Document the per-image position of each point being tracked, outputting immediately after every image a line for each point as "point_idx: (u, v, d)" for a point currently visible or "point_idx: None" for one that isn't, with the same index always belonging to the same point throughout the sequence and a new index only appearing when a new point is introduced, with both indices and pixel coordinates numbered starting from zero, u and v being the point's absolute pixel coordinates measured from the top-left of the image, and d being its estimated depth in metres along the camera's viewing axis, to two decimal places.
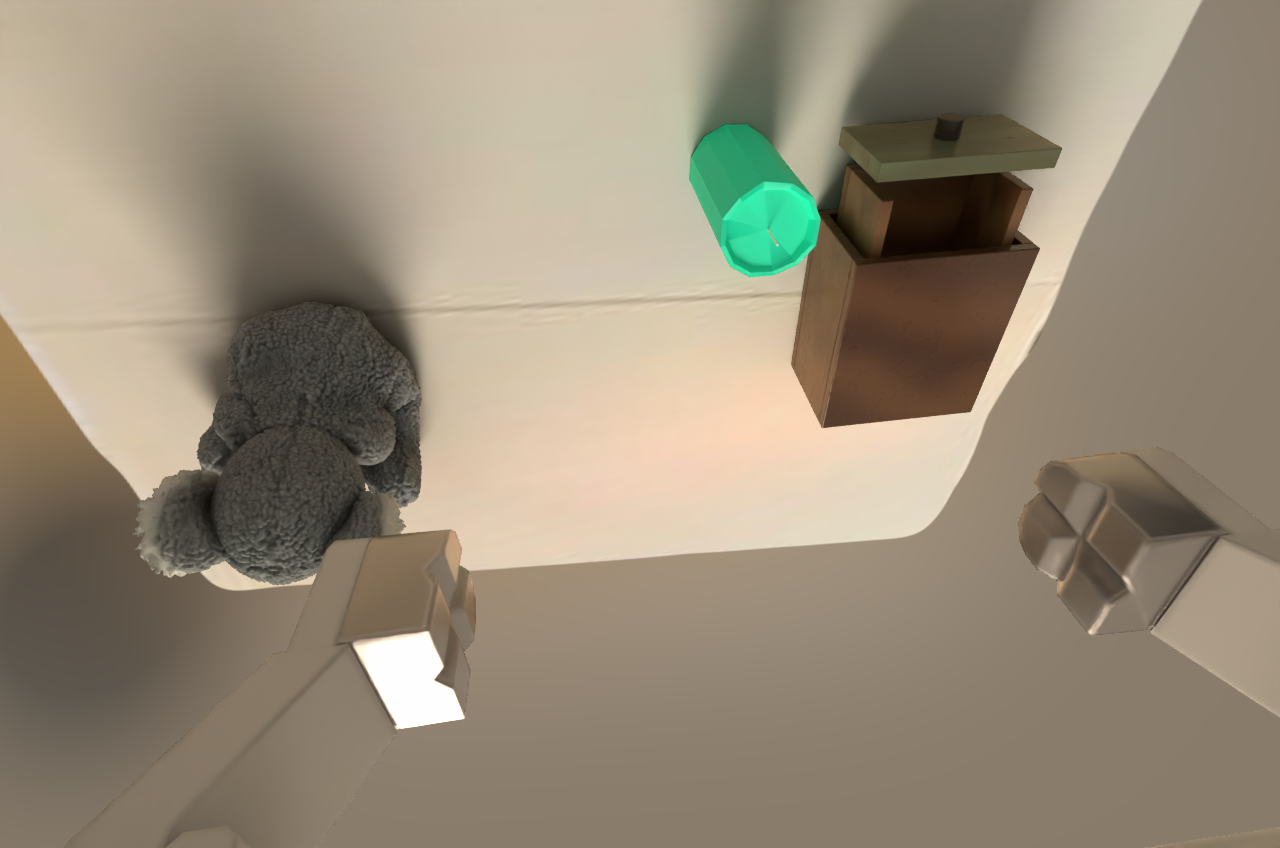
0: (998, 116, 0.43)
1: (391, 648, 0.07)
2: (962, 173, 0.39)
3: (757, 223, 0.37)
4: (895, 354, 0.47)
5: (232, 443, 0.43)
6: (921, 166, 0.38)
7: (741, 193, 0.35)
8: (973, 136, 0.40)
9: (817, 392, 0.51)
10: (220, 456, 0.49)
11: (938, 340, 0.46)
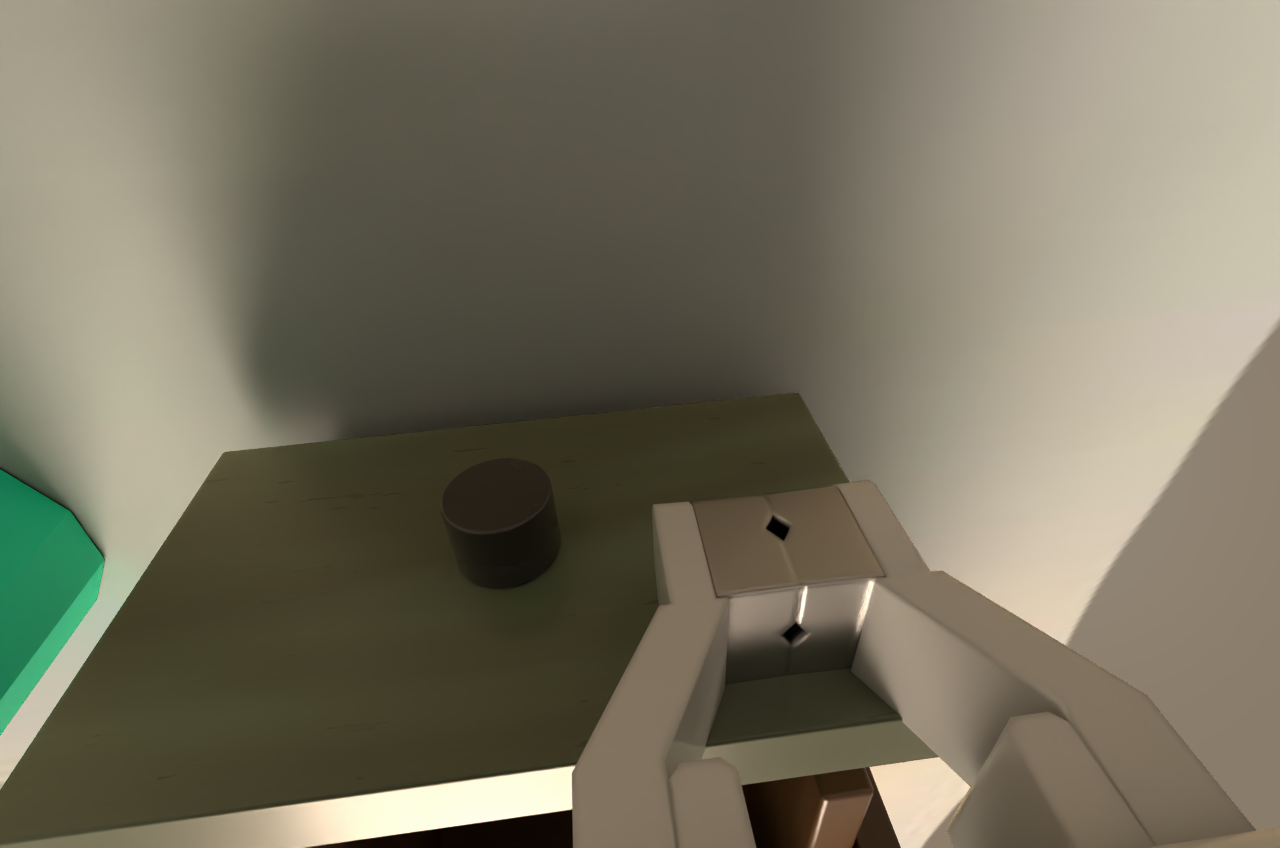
0: (779, 405, 0.12)
1: (760, 602, 0.07)
2: (484, 818, 0.08)
3: None
4: None
5: None
6: (225, 830, 0.07)
7: None
8: (616, 552, 0.10)
9: None
10: None
11: None
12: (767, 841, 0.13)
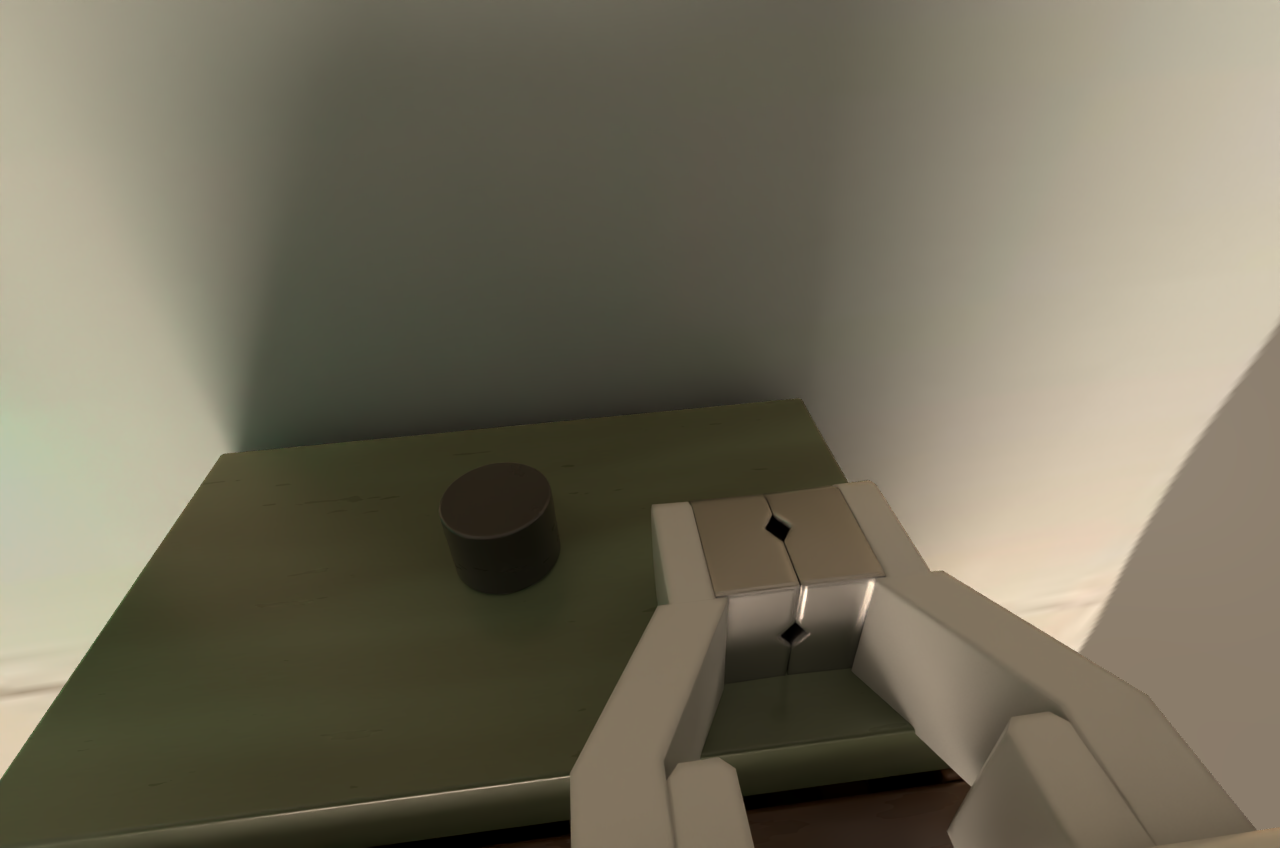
0: (781, 411, 0.12)
1: (758, 602, 0.07)
2: (479, 829, 0.08)
3: None
4: None
5: None
6: (217, 838, 0.07)
7: None
8: (616, 558, 0.10)
9: None
10: None
11: None
12: None
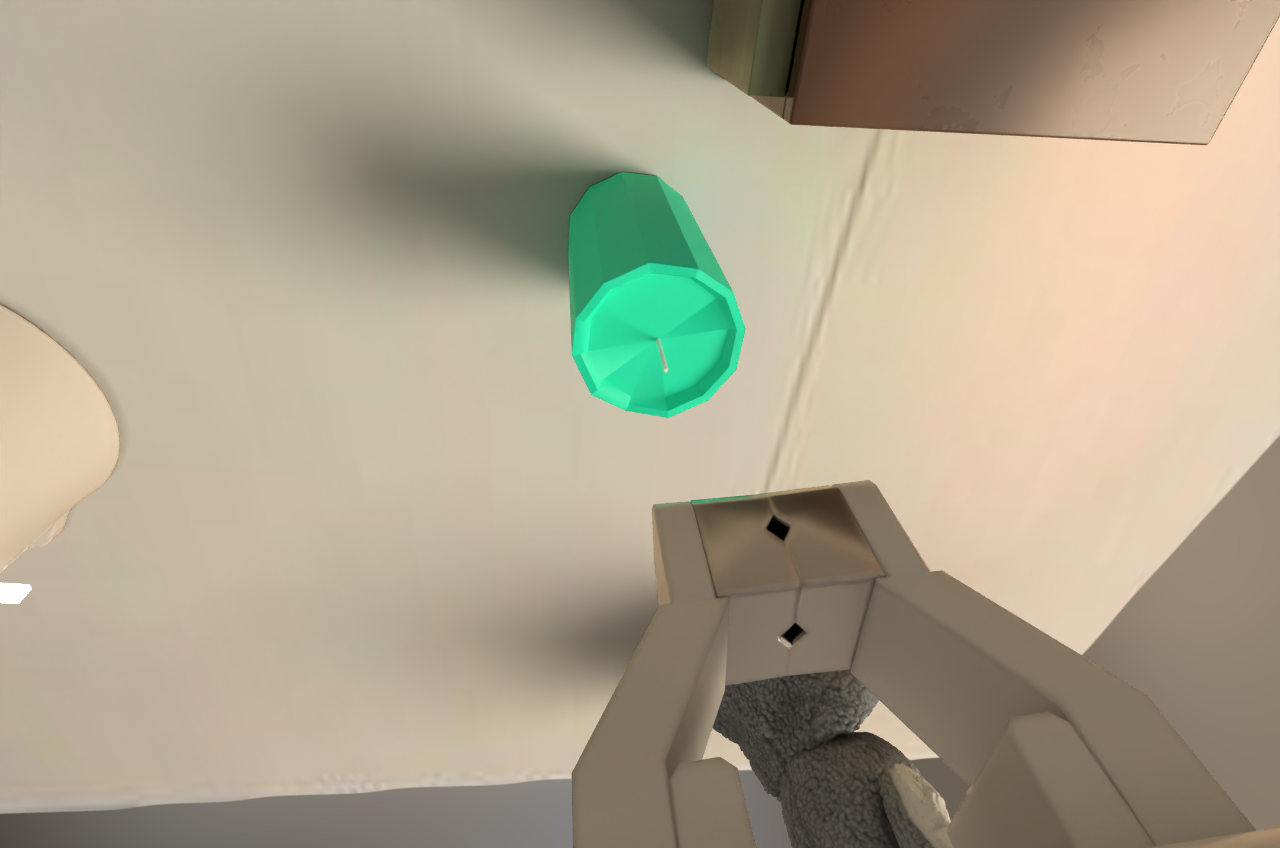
0: None
1: (760, 602, 0.07)
2: None
3: (644, 357, 0.22)
4: None
5: None
6: None
7: (588, 384, 0.22)
8: None
9: None
10: None
11: None
12: None
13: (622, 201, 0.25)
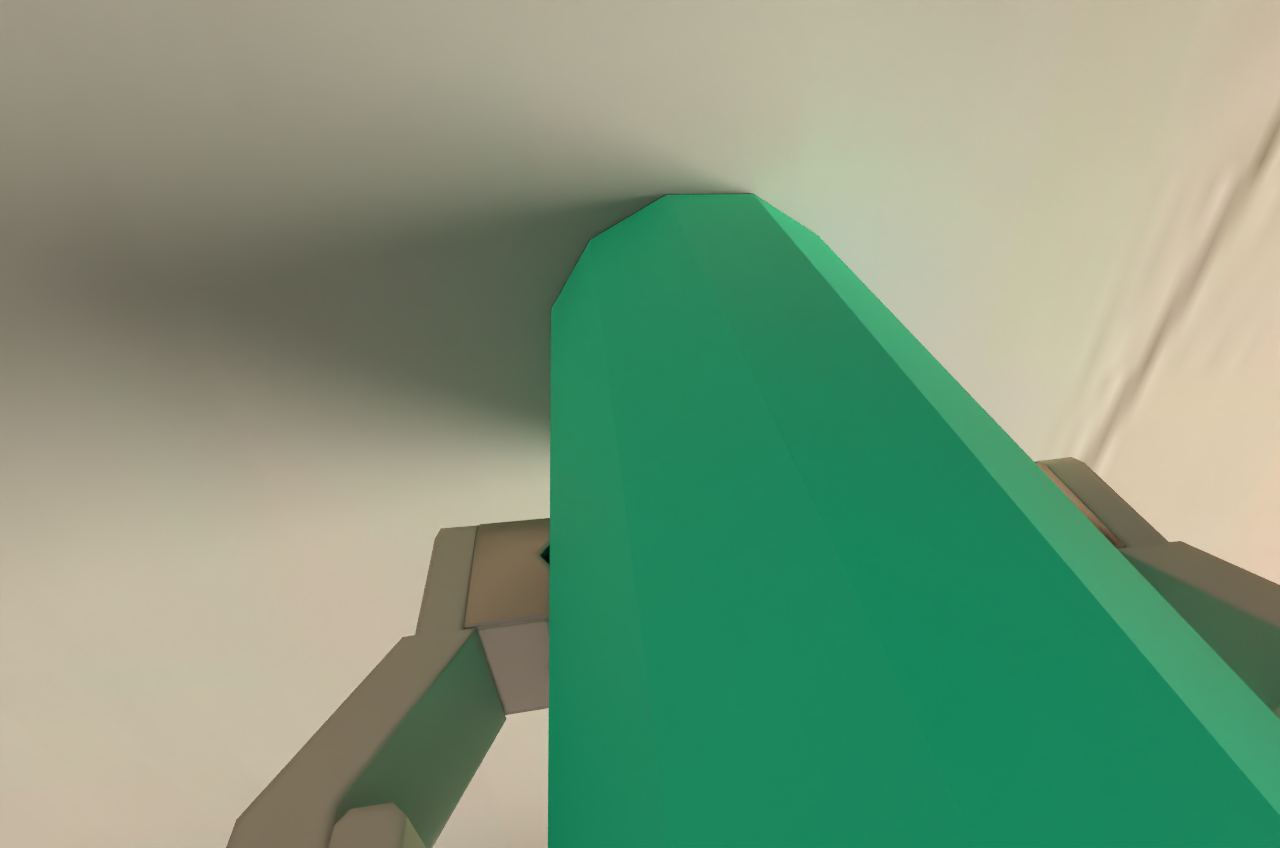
0: None
1: (514, 633, 0.07)
2: None
3: None
4: None
5: None
6: None
7: None
8: None
9: None
10: None
11: None
12: None
13: (688, 299, 0.08)
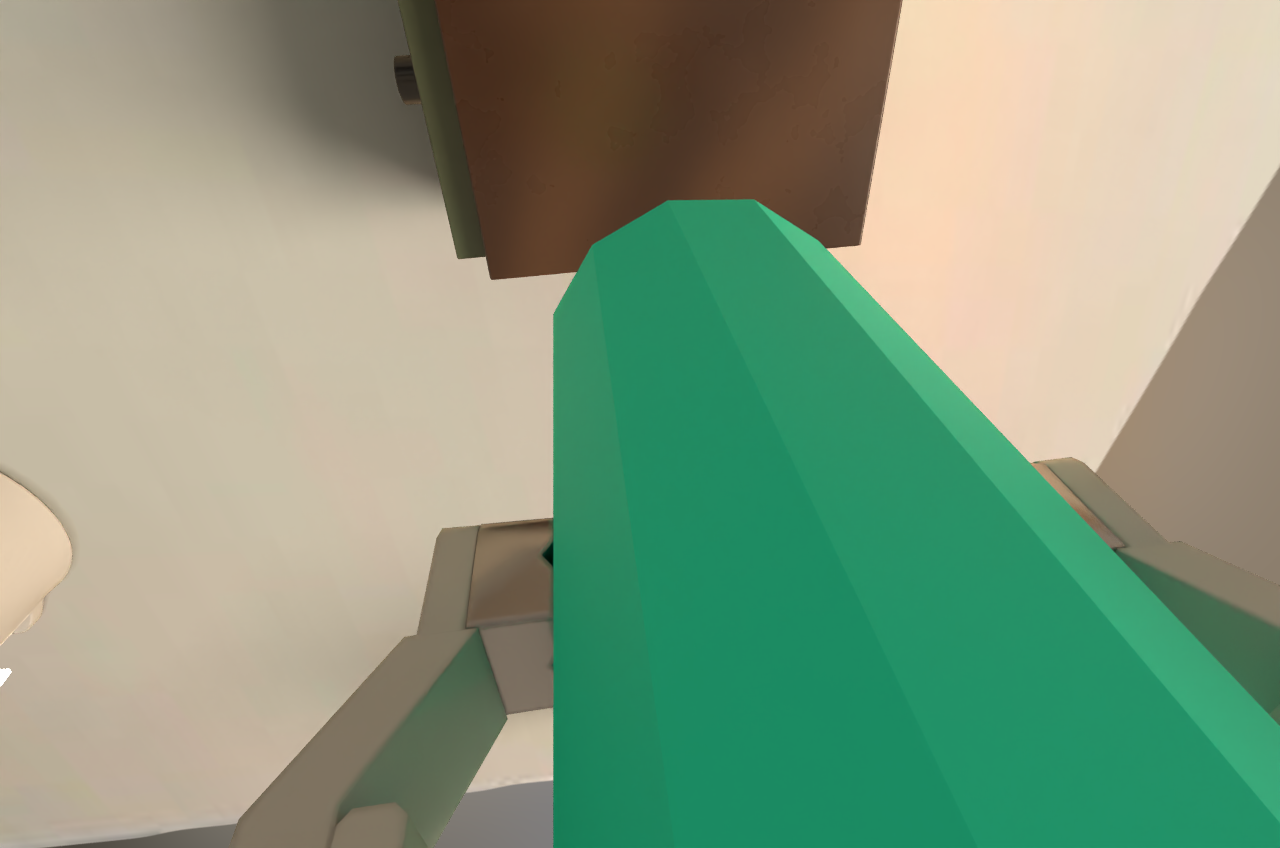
0: None
1: (516, 633, 0.07)
2: (454, 103, 0.21)
3: None
4: (691, 138, 0.22)
5: None
6: (453, 189, 0.23)
7: None
8: None
9: None
10: None
11: (665, 37, 0.20)
12: None
13: (690, 305, 0.08)
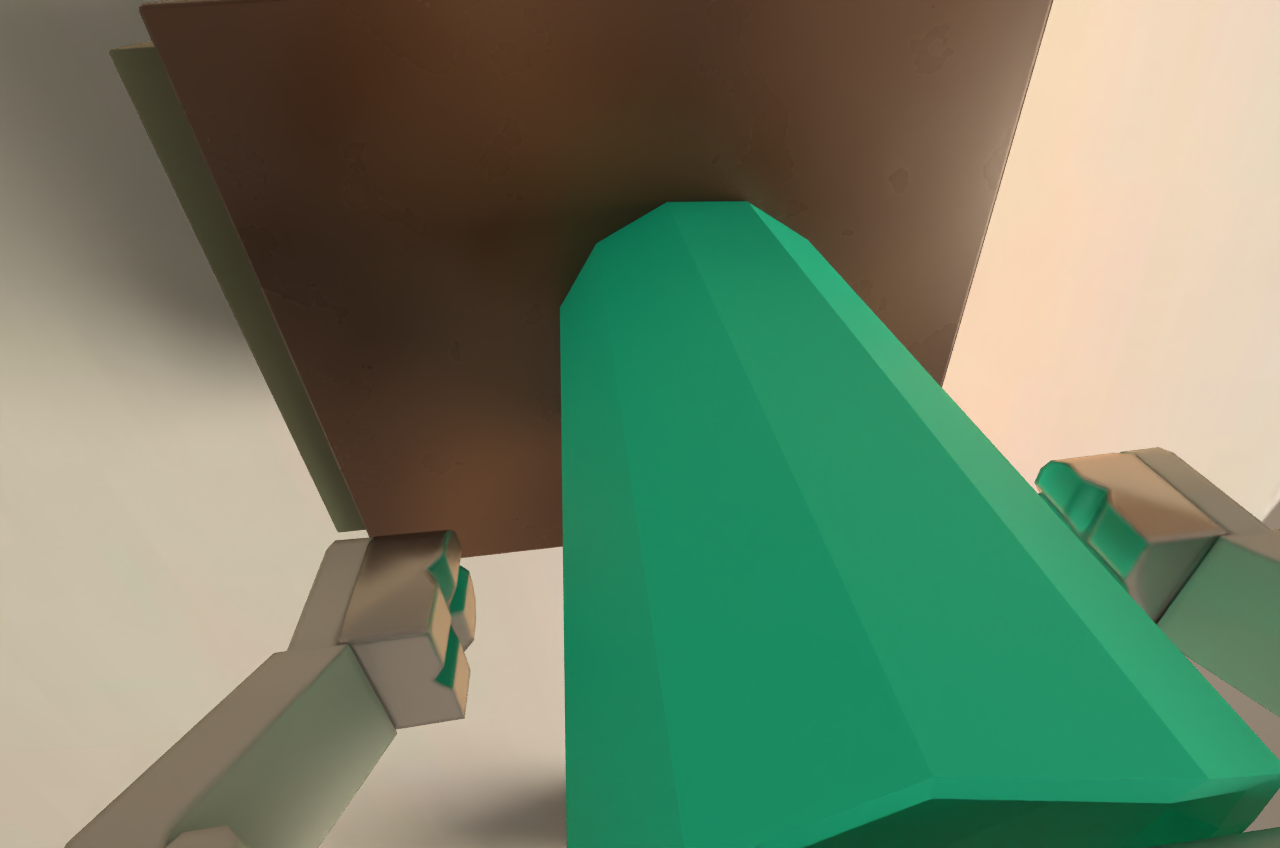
0: None
1: (391, 648, 0.07)
2: None
3: None
4: None
5: None
6: (319, 458, 0.16)
7: None
8: None
9: None
10: None
11: None
12: None
13: (686, 297, 0.09)
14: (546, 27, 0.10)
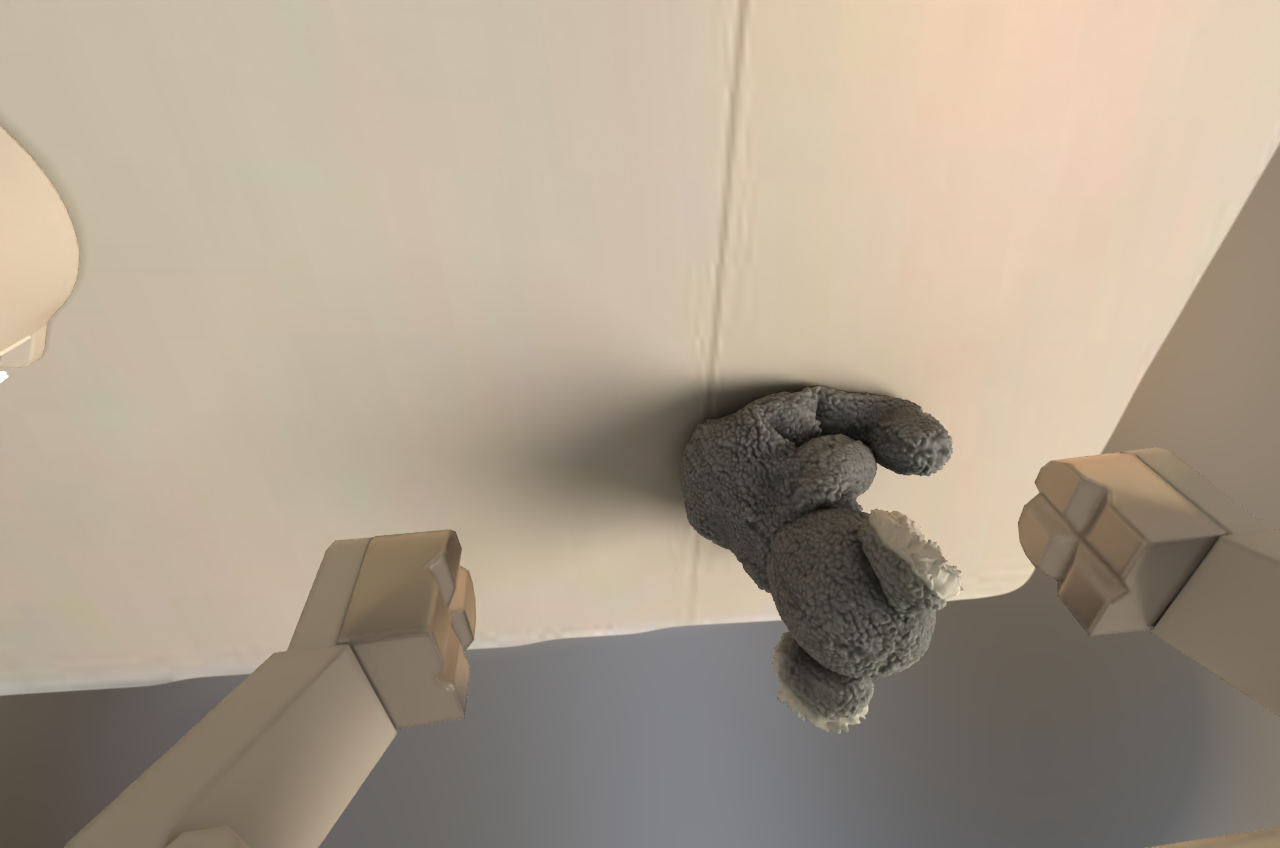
0: None
1: (391, 648, 0.07)
2: None
3: None
4: None
5: None
6: None
7: None
8: None
9: None
10: None
11: None
12: None
13: None
14: None
